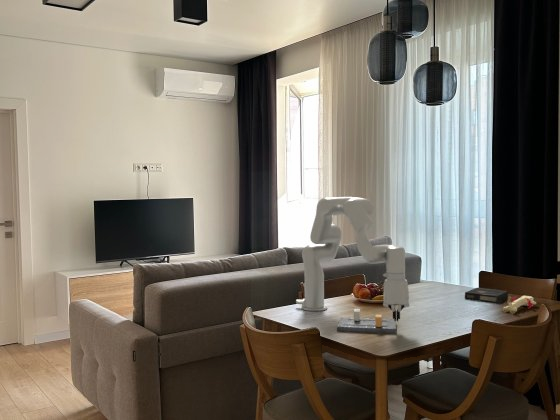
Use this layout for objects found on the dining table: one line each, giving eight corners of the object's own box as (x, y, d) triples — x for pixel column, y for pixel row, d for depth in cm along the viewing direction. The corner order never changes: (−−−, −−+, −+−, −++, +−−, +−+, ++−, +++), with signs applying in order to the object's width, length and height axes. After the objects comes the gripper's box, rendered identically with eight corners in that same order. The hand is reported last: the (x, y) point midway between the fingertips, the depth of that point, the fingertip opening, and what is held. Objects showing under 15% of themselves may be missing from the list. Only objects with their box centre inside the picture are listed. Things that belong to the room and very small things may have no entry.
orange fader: (375, 326, 231) (375, 316, 231) (375, 323, 236) (375, 314, 235) (381, 326, 231) (381, 317, 230) (381, 324, 235) (381, 314, 235)
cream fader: (353, 320, 242) (353, 311, 242) (354, 317, 246) (354, 308, 246) (359, 320, 241) (359, 311, 241) (360, 318, 246) (360, 308, 246)
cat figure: (519, 318, 258) (540, 304, 275) (518, 299, 257) (540, 287, 274) (498, 314, 265) (520, 301, 282) (497, 296, 264) (519, 284, 281)
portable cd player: (464, 300, 292) (464, 292, 292) (477, 294, 305) (477, 287, 305) (496, 304, 282) (496, 296, 282) (507, 298, 295) (508, 291, 294)
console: (337, 331, 233) (337, 326, 233) (340, 321, 249) (340, 317, 249) (395, 333, 228) (395, 328, 228) (395, 323, 244) (395, 319, 244)
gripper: (377, 277, 228) (377, 322, 229) (414, 278, 225) (415, 323, 226) (377, 274, 236) (378, 318, 236) (414, 275, 233) (414, 319, 234)
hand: (396, 320), depth 231 cm, fingers closed
